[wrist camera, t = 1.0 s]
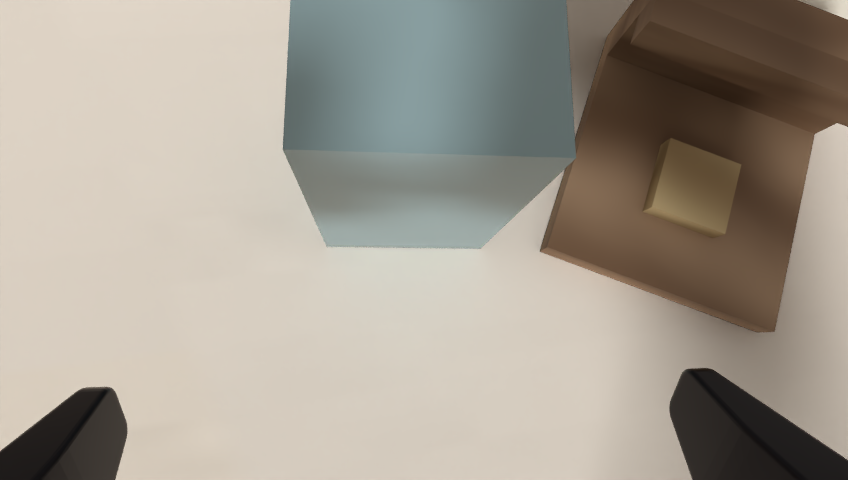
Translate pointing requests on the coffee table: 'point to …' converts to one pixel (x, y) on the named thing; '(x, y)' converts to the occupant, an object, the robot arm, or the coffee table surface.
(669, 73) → the dock
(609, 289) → the coffee table surface
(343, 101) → the grey-blue block
